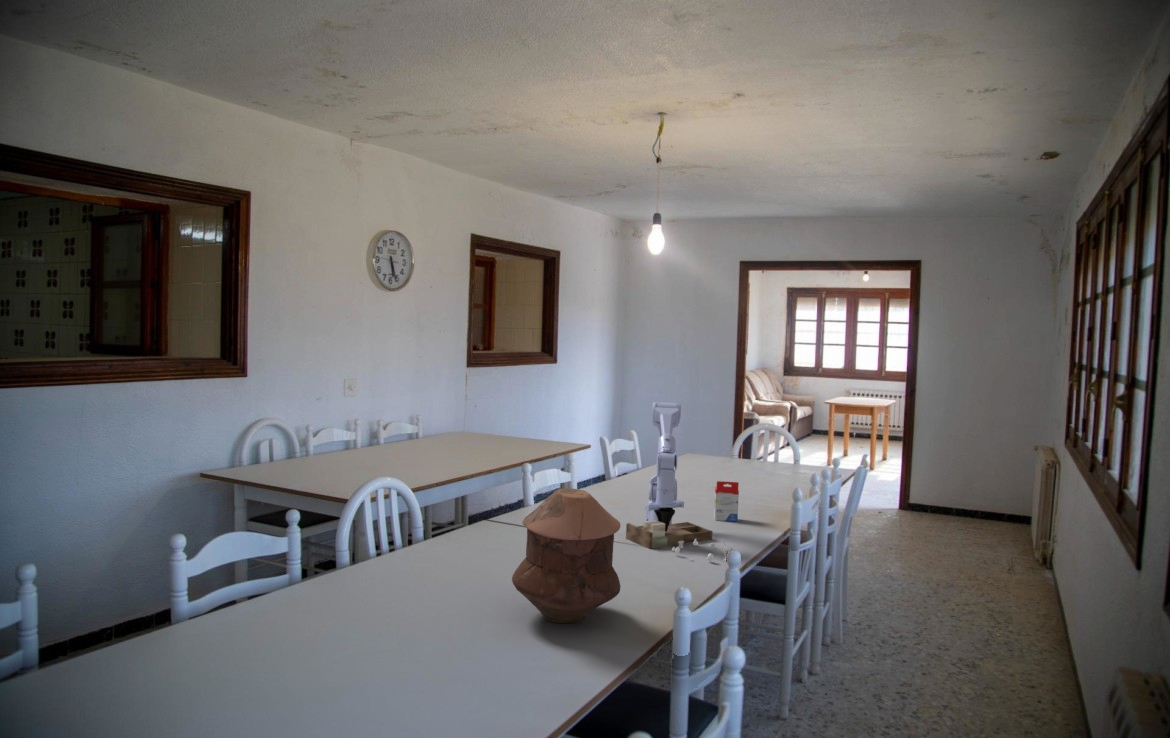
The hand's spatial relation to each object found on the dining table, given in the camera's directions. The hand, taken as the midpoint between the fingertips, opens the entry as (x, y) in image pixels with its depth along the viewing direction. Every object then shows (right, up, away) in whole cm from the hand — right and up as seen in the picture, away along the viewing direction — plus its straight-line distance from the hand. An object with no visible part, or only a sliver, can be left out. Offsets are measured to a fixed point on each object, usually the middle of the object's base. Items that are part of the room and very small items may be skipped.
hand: (663, 530), depth 249 cm
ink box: (+27, -4, +36) cm, 45 cm away
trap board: (+2, -4, +5) cm, 7 cm away
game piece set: (+11, -6, -11) cm, 16 cm away
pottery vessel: (-30, -6, -68) cm, 75 cm away
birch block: (-3, -1, -2) cm, 4 cm away
